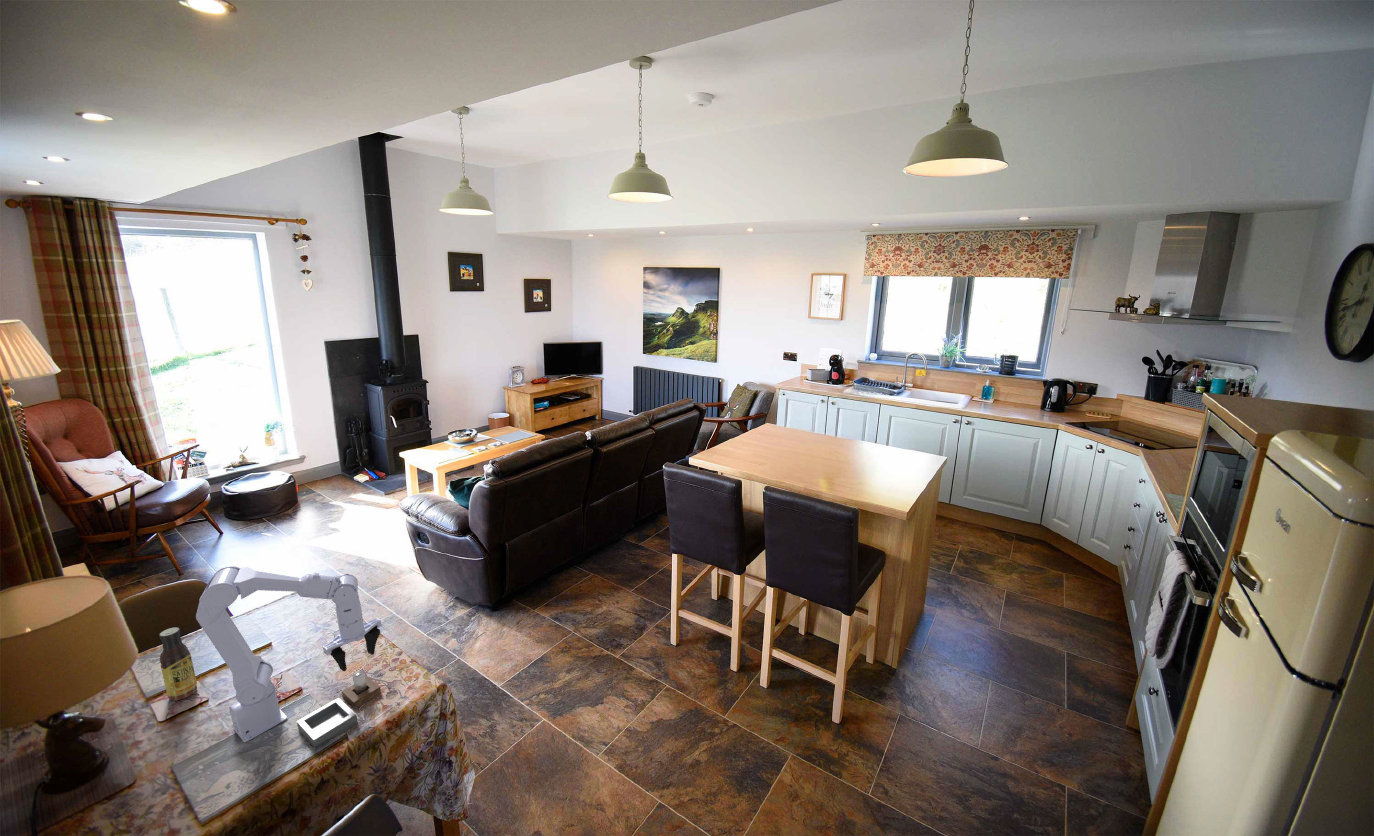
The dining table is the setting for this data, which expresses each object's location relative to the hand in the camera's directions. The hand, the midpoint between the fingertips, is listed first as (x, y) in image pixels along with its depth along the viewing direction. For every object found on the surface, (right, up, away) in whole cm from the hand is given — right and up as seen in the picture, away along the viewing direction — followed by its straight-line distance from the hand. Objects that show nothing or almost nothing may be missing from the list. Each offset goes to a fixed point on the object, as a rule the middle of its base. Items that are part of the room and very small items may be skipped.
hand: (357, 661), depth 151 cm
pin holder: (0, -10, +2) cm, 10 cm away
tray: (-2, -13, -9) cm, 16 cm away
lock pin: (0, -10, +2) cm, 10 cm away
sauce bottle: (-50, -10, +2) cm, 51 cm away
